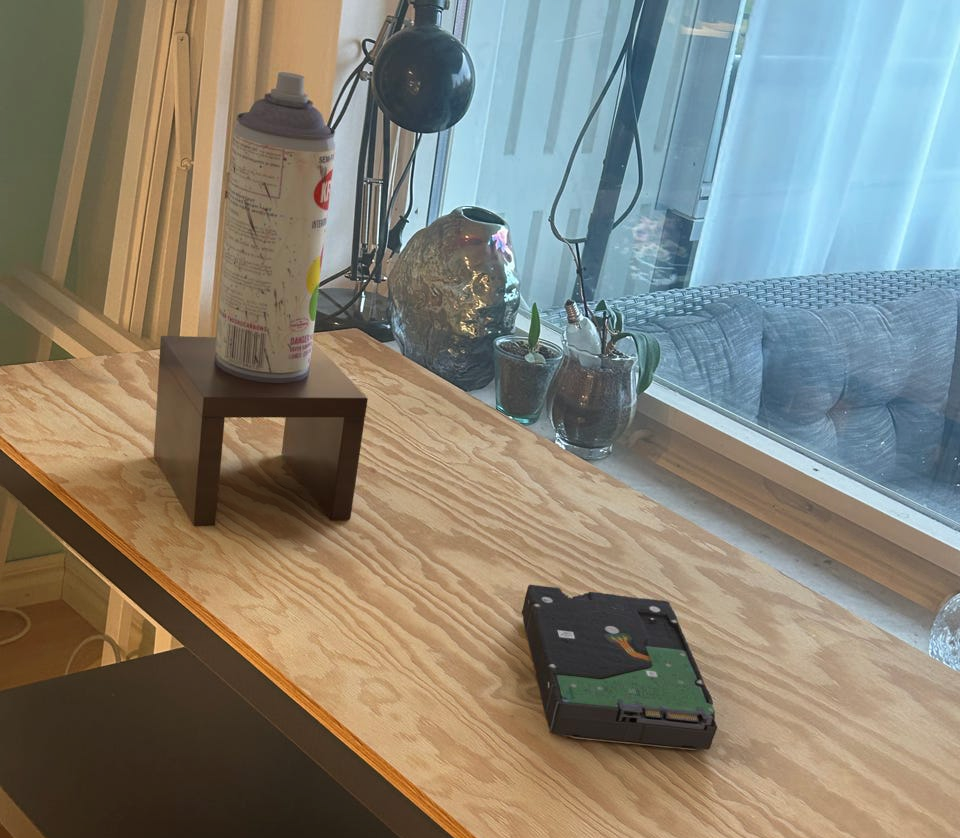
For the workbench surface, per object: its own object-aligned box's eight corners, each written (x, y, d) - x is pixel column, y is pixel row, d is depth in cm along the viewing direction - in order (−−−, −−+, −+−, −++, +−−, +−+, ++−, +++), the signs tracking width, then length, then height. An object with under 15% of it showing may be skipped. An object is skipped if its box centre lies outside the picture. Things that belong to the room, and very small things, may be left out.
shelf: (153, 456, 104) (160, 335, 99) (299, 454, 109) (313, 339, 104) (193, 526, 95) (203, 397, 90) (350, 520, 100) (368, 398, 95)
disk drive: (516, 618, 92) (548, 740, 79) (524, 582, 90) (558, 700, 78) (660, 633, 94) (713, 754, 81) (669, 598, 92) (725, 716, 79)
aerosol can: (313, 387, 95) (348, 92, 85) (215, 377, 93) (240, 75, 83) (305, 354, 101) (337, 74, 91) (213, 344, 99) (236, 58, 89)
